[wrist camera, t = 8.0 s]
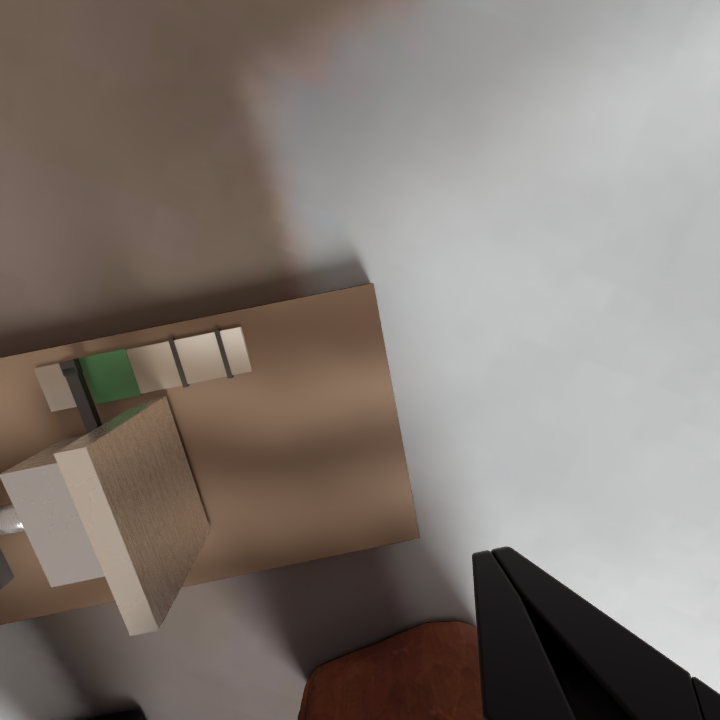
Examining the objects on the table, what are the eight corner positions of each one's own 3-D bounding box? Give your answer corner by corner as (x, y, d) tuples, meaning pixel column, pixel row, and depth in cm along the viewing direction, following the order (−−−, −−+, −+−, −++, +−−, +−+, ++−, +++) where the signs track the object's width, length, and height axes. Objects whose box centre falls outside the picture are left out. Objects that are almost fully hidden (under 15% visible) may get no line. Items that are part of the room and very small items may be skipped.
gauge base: (414, 519, 20) (448, 631, 13) (-15, 607, 19) (-188, 765, 13) (370, 283, 17) (388, 282, 10) (-131, 384, 17) (-424, 446, 10)
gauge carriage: (210, 531, 17) (158, 630, 12) (23, 570, 17) (-105, 685, 12) (148, 343, 15) (56, 371, 10) (-66, 386, 15) (-261, 435, 10)
